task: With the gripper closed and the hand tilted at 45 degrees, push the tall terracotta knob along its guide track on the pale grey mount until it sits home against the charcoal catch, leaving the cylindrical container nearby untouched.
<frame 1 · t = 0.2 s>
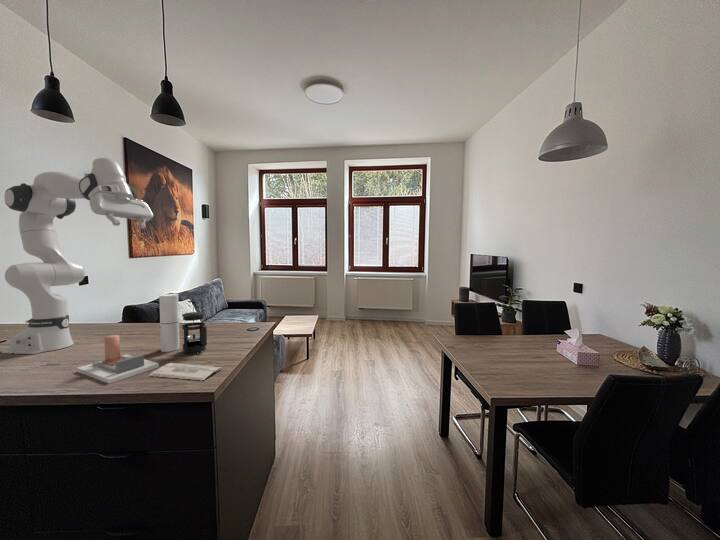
hand: (130, 226, 112), 54 cm above the table, tool tilted 30°, fingers open, 8 cm apart
french press: (195, 351, 131), on the table
newspaper: (187, 374, 108), on the table
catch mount: (118, 369, 110), on the table
cylindrical container: (170, 349, 133), on the table
knob plunger: (112, 349, 111), point 7 cm above the table, slide at 0.0 cm
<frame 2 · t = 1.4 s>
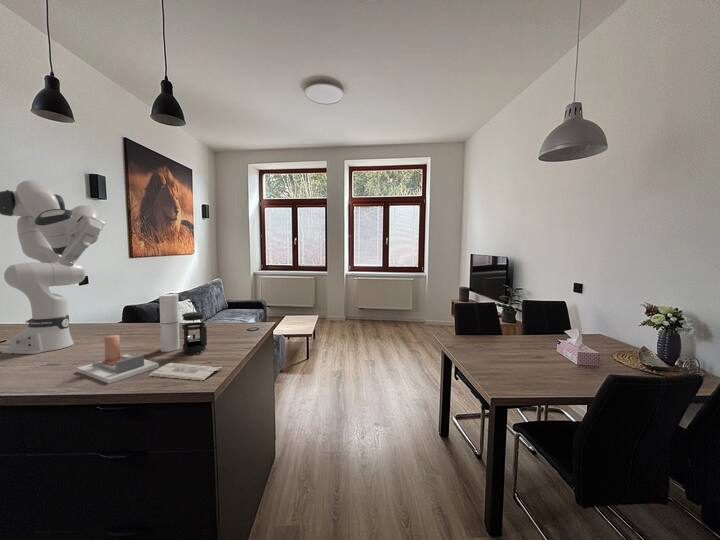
hand: (77, 255, 102), 43 cm above the table, tool tilted 55°, fingers open, 8 cm apart
nothing on the table moved.
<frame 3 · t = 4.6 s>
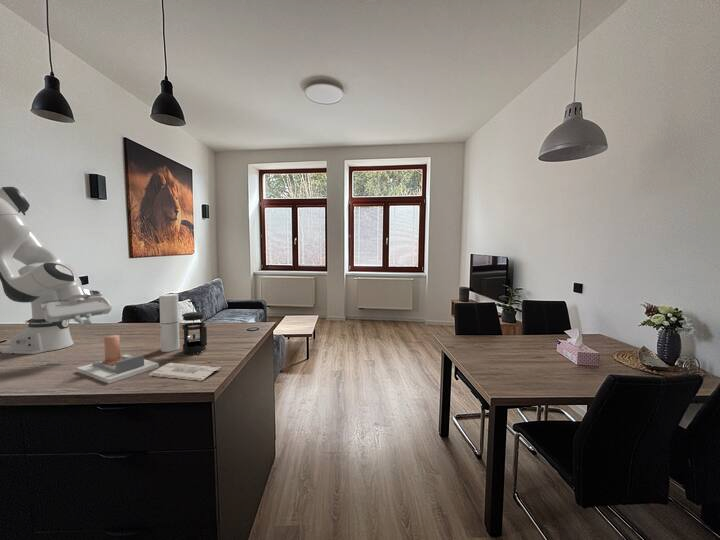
hand: (86, 324, 118), 15 cm above the table, tool tilted 45°, fingers closed
nothing on the table moved.
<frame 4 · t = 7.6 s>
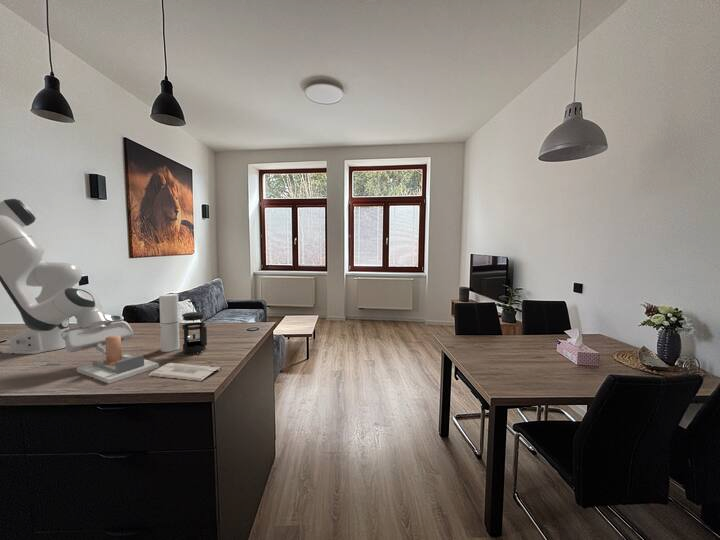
hand: (108, 352, 112), 5 cm above the table, tool tilted 45°, fingers closed
knob plunger: (113, 350, 111), point 7 cm above the table, slide at 0.9 cm, touching gripper
everything else where it was.
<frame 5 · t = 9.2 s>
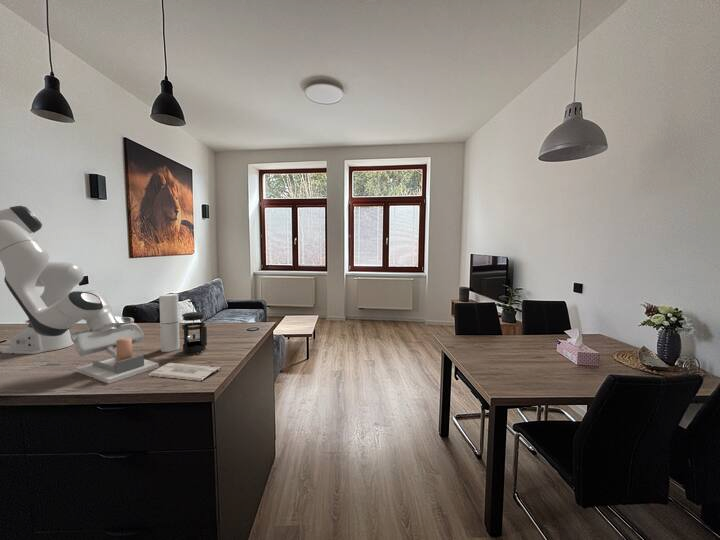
hand: (119, 356, 108), 5 cm above the table, tool tilted 45°, fingers closed, pressing on knob plunger
knob plunger: (124, 353, 107), point 7 cm above the table, slide at 8.3 cm, touching gripper
everything else where it was.
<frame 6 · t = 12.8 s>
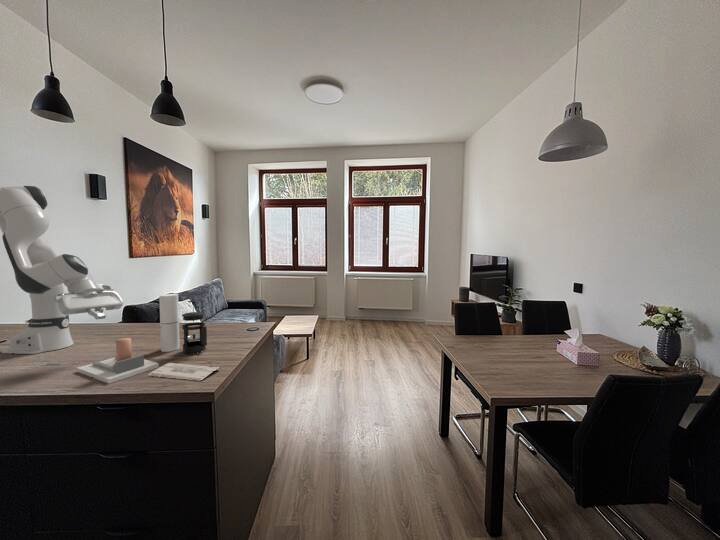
hand: (101, 318, 116), 18 cm above the table, tool tilted 45°, fingers closed
knob plunger: (124, 353, 108), point 7 cm above the table, slide at 8.0 cm
everything else where it was.
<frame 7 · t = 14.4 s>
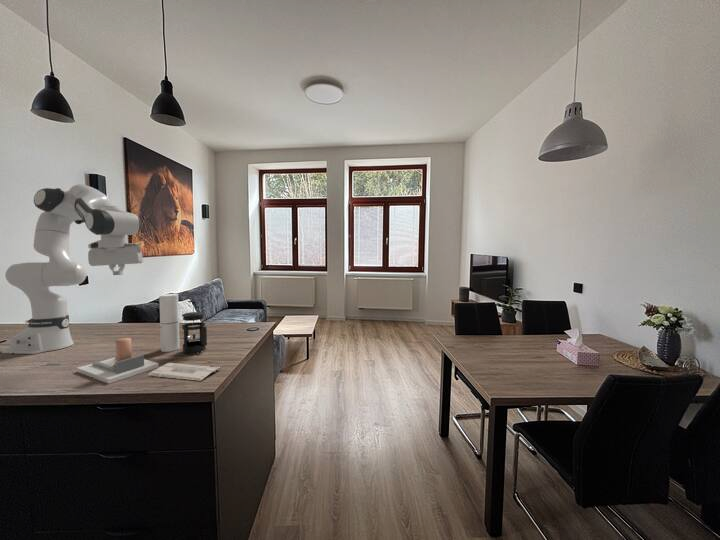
hand: (117, 275, 129), 34 cm above the table, tool pointing down, fingers closed
nothing on the table moved.
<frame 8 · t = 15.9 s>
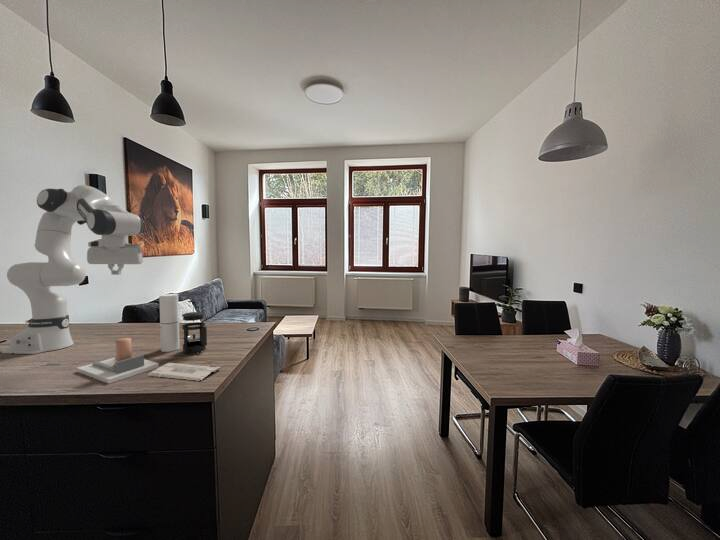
hand: (116, 274, 129), 34 cm above the table, tool pointing down, fingers closed
nothing on the table moved.
at the end: knob plunger slide at 8.0 cm; cylindrical container moved 0.2 cm from its start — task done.
